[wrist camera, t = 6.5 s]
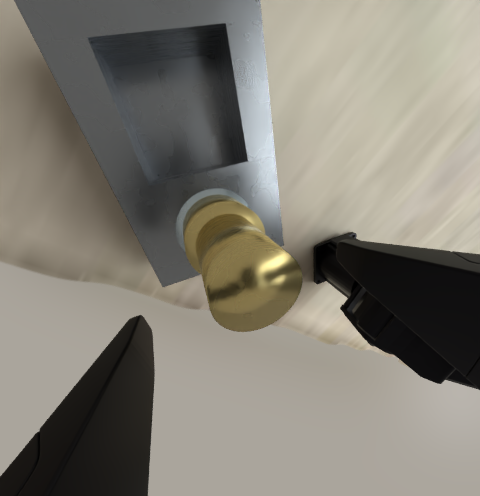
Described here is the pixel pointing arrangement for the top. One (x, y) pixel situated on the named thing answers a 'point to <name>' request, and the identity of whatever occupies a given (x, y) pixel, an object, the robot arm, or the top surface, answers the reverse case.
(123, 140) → the housing
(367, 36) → the top surface
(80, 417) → the robot arm
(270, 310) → the brass cap
